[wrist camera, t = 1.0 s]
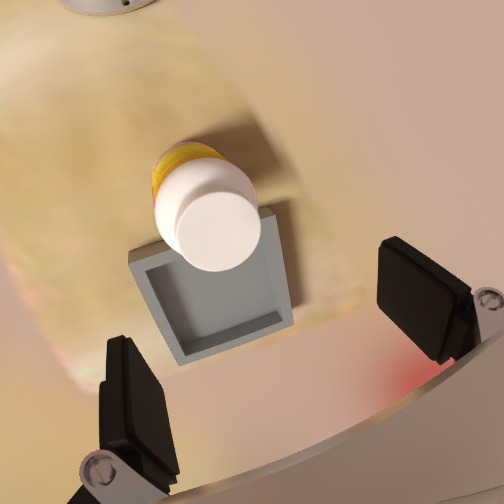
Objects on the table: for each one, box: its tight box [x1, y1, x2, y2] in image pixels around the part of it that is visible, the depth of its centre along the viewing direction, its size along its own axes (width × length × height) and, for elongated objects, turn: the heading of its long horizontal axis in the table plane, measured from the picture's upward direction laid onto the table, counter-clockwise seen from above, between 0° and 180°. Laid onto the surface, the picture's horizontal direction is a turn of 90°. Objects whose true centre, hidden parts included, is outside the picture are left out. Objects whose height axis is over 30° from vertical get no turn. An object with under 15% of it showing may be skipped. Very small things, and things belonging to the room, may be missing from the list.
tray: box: [128, 206, 294, 366], centre depth 33 cm, size 14×14×2 cm
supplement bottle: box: [152, 142, 261, 272], centre depth 22 cm, size 7×7×13 cm
